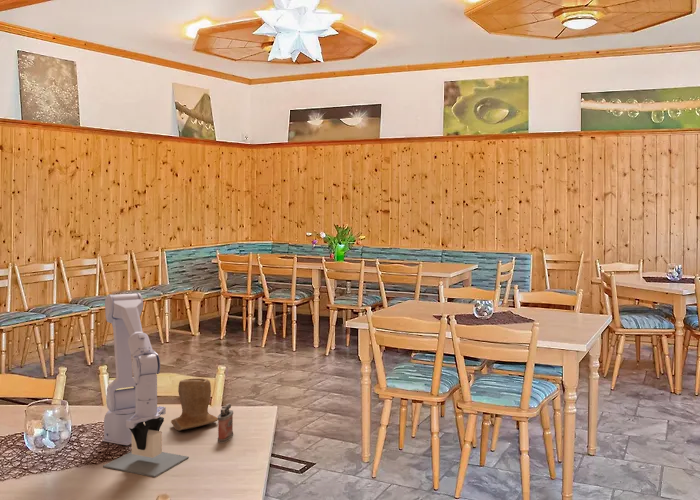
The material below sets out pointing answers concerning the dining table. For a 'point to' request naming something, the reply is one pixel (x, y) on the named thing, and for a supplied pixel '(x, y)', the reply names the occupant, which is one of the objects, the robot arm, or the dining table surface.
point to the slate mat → (146, 463)
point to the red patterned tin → (225, 424)
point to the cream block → (149, 444)
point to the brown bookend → (194, 404)
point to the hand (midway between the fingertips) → (146, 446)
